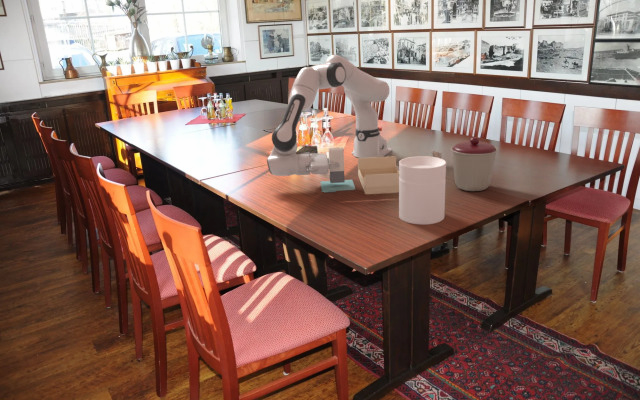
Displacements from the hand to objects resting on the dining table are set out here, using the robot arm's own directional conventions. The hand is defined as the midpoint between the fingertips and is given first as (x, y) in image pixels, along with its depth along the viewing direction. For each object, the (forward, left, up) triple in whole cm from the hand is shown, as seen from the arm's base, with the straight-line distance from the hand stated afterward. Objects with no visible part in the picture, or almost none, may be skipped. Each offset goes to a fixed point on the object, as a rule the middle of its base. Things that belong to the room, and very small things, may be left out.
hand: (338, 162), depth 220 cm
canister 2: (-24, +49, -11) cm, 56 cm away
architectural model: (-46, +23, -11) cm, 53 cm away
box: (+1, -1, -8) cm, 8 cm away
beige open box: (-11, +14, -10) cm, 21 cm away
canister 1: (+15, +45, -11) cm, 49 cm away
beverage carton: (-27, -39, -11) cm, 48 cm away
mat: (0, -1, -10) cm, 11 cm away
